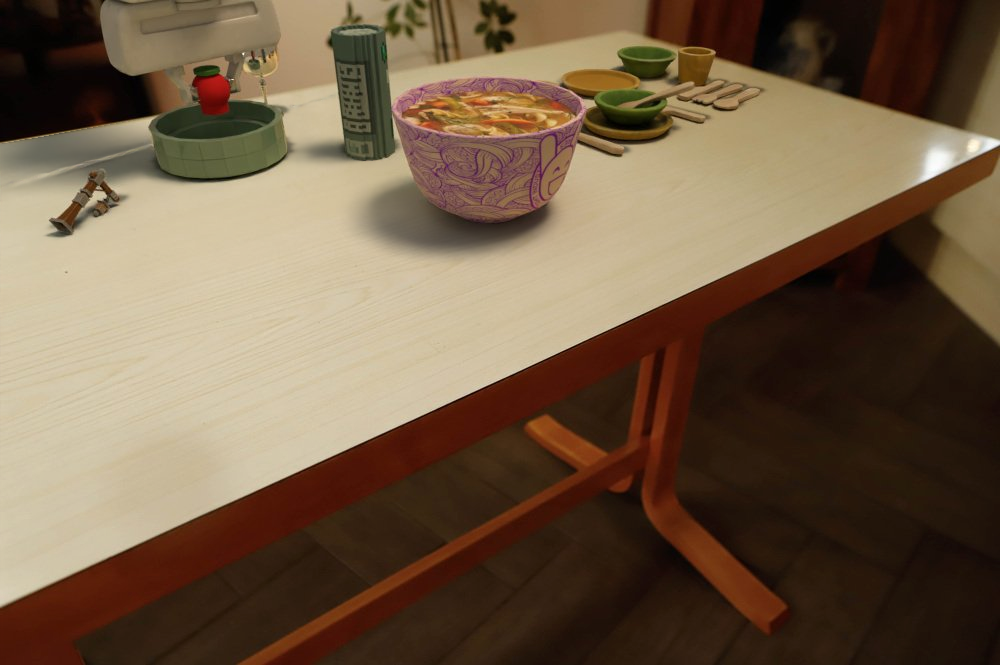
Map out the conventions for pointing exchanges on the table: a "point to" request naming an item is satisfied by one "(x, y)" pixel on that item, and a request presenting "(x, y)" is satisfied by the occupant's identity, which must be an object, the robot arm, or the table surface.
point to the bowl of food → (489, 143)
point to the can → (364, 90)
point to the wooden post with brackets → (85, 201)
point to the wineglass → (261, 65)
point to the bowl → (219, 139)
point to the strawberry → (211, 90)
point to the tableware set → (646, 94)
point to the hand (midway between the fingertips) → (212, 97)
